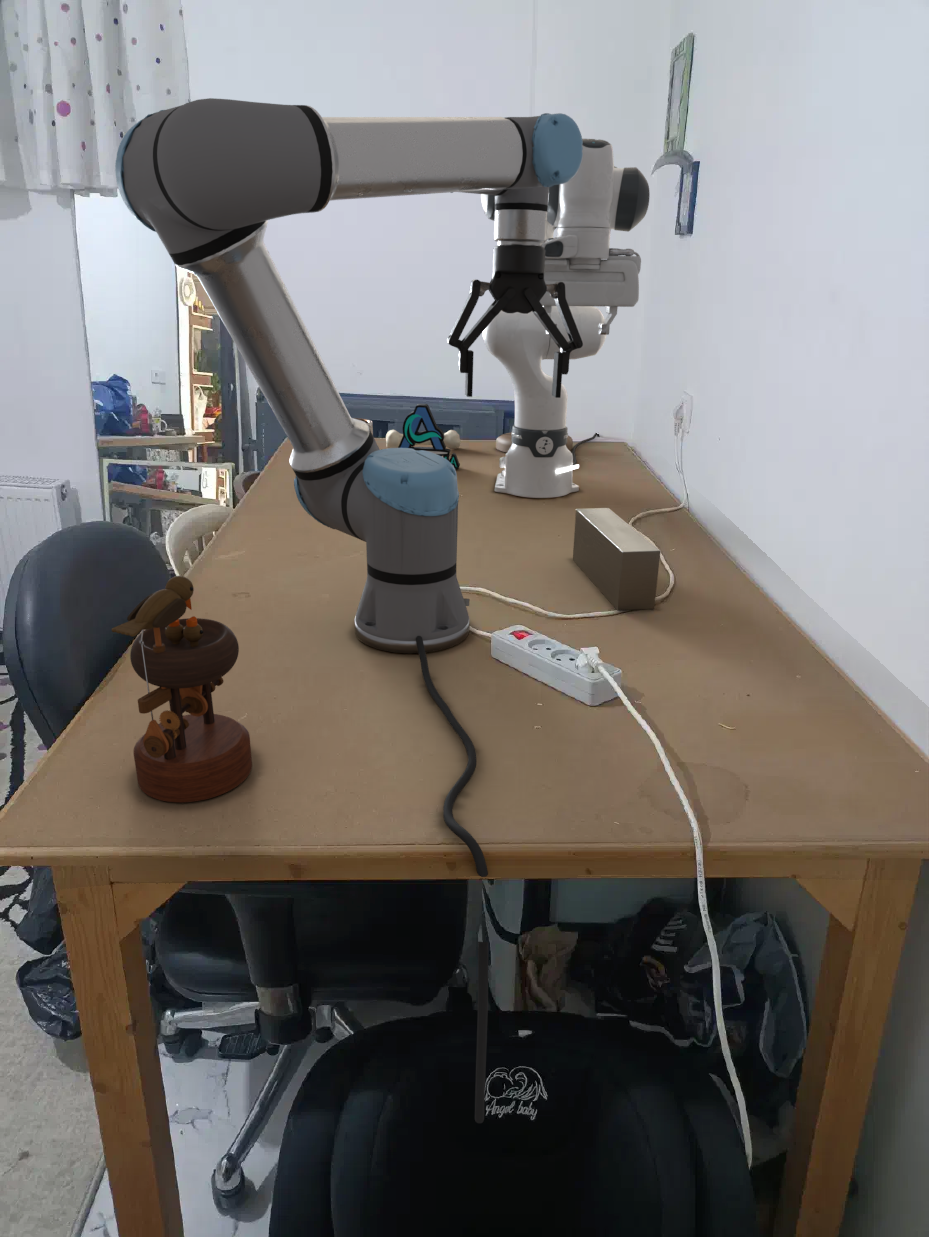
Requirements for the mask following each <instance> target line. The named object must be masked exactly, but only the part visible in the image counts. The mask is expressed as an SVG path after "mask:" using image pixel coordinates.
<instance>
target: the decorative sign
mask: <svg viewBox="0 0 929 1237" xmlns="http://www.w3.org/2000/svg"><path fill="white" fill-rule="evenodd" d="M421 425H423V428H424V430H421V431H419V430H420V428H421ZM444 433H445V432H444V431H443V429H442V428H441V427H440V426H438V425H437V422H436V419H435V417H434V415H433V412H432V411H431V408H430V406H429V404H428V403H417V404H416V406H415V408H414V409H413V411H411V412H410V413H408V414H407V416H406V417H405V418H404V421H403V423H402V434H403V437H402V439H401V442H400V444H399V446H398V448H411V449H414V450H417V451H420V450H424V451H428V452H431V453H435V454H437V455H439V456H441V457H443V458H445V459H447V460H448V461H449V462H450V463H451V464H452V465H453V466H454V468H455V470H458V469H459V468H460V466H461V463H460V462H459V459H458V454H457V453H455V452H453V453H451V449H450V448H448V447H446V445H445V443H444V441H443V440H444V438H445V437H444ZM429 440H430V442H431V444H432V445H431V446H416V445H415V444H416V443H417V444H420V443H424V442H426V441H429ZM450 454H451V456H450Z"/></svg>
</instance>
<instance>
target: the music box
mask: <svg viewBox="0 0 929 1237" xmlns="http://www.w3.org/2000/svg"><path fill="white" fill-rule="evenodd" d="M194 590H195V588H194V583H193V582H192V581H191V579H189V578H188V577H187V576H183V575H175V576H172V577H171V578H170V579H169V580H167V582H166V584H165V588H163V589H159V590H157V591H155V592H152V593H150V594H149V595H147V596H146V597H145V598H143V599H142V600H141V601H140V602H139V603H138V604H137V605H136V606H135V607H134V608H133V609H132V611H130V613H129V614H128V616H127V617H126V620H127V621H125V622H124V623H121V624H119V625H116V626H114V627H112V628H111V632H112V633H116V634H121V635H125V636H130V637H133V638H134V637H136V638H135V640H134V641H133V643H132V644H131V648H130V655H129V656H130V663H131V667H132V668H133V671H134V672H135V673H136V675H137V676H138V677H139V678H140V679H142V680H143V681H144V682H146V687H147V694H145V695H143V696H141V697H139V698H138V699H137V705H138V706H137V707H138V712H139V713H140V714H149V713H150V716H151V720H150V721H149V723H148V725H147V729H146V731H145V733H144V734H143V735H142V736H141V737H140V738H139V739H138V740H137V742H136V743H135V745H134V747H133V751H132V752H133V759H134V760H133V761H134V765H135V772H136V779H137V784H138V787H139V789H140V790H141V791H142V792H143V793H145V794H146V795H147V796H149V797H151V798H152V799H155V800H159V801H164V802H167V803H168V802H169V803H192V802H193V803H194V802H199V801H205V800H208V799H213V798H215V797H218V796H221V795H224V794H226V793H228V792H230V791H232V790H233V789H235V788H237V787H238V786H239V785H241V784H242V783H243V782H244V781H246V779H247V778H248V776H249V775H250V773H251V771H252V768H253V759H252V747H251V736H250V732H249V730H248V728H247V727H246V726H245V725H244V724H242V723H241V722H239V721H237V720H235V719H234V718H232V717H229V716H226V715H223V714H217V713H215V712H214V705H213V704H214V703H213V696H212V693H213V692H214V691H216V686H217V687H220V686H222V685H223V684H224V679H223V677H224V676H225V675H227V674H228V673H229V672H230V671H231V670H232V669H233V667H234V666H235V664H236V662H237V660H238V657H239V653H240V646H239V642H238V639H237V636H236V634H235V633H234V631H233V630H232V629H231V628H230V627H228V626H227V625H226V624H224V623H223V622H221V621H218V620H214V619H209V618H200V617H196V616H194V615H193V616H191V617H189V618H181V617H183V615H185V613H186V611H187V608H188V609H189V610H190V611H192V609H193V608H192V601H191V598H192V596H193V594H194ZM149 684H150V685H152V686H155V687H157V688H155V689H153V690H152V691H150V686H149ZM167 702H169V704H168V705H169V709H168V710H163V711H162V712H161V713H160V715H159V717H158V719H159V723H158V721H157V720H156V719H154V714H153V711H154V710H156V709H157V708H159V707H161V706H163V705H164V704H166V703H167ZM184 713H188V714H185V715H183V714H184Z"/></svg>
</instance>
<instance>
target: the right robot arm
mask: <svg viewBox="0 0 929 1237" xmlns="http://www.w3.org/2000/svg"><path fill="white" fill-rule="evenodd" d="M582 141H583V144H582V147H583V150H582V153H583V156H582V161H581V164H580V167H579V169H578V171H577V173H576V174H575V176H574V177H573V178H572V179H571V180H570V181H568V182H566V183H564V184H558V185H554V186H552V187H549V194H548V210H547V231H546V241H545V242H544V243H542V247H544V250H545V268H544V281H545V283H546V284H553V283H556V282H563V283H564V284H565V294H566V300H567V303H568V306H569V308H570V311H571V313H572V316H573V319H574V321H575V324H576V326H577V329H578V332H579V334H580V337H581V339H582V342H583V346H582V347H581V348H578V349H575V350H573V351H571V353H570V358H569V360H578V359H579V360H580V359H584V358H588V357H592V356H596V355H597V354H598V353H599V352H600V351H601V349H602V348H603V347H604V344H605V342H606V339H607V335H608V336H609V335H610V329H611V328H610V326H611V324H612V323H613V321H614V320H615V318H616V317H617V315H618V309H619V307H621V308H622V307H623V308H625V307H627V308H633V307H635V306H636V305H637V303H638V302H639V298H640V297H639V296H640V282H639V281H640V280H639V274H640V272H641V266H642V258H641V256H640V254H639V253H638V252H637V251H635V250H634V249H633V248H624V249H623V248H614V247H611V246H610V245H611V230H614V231H619V232H630V231H631V230H633V229H635V227H637V226H638V224H640V223H641V222H642V220H643V219H644V218H645V217H646V214H647V212H648V210H649V204H650V198H651V197H650V186H649V182H648V180H647V179H646V176H644V174H643V173H642V172H641V171H640V169H639V168H638V167H636V166H635V167H631V166H630V167H622V168H621V167H617V166H615V159H614V150H613V145H612V144H611V143H610V142H609V141H608V140H604V139H596V138H582ZM480 201H481V206H482V209H483V212H484V215H485V216H486V217H487V219H488V220H490V221H493V222H495V196H491V195H486V194H480ZM555 230H557V232H556V237H554V232H555ZM539 302H540V303H541V304H542V306H543V307H544V309H545V310H546V312H547V314H548V315H549V317H550V318H551V319H552V321H553V322H554V324H555V325H556V326H557V328H558V329H559V331H560V332H561V334H562V335H563V336H564V338H565V339H566V341H567V342H569V341H570V340H569V337H568V334H567V332H566V329H565V327H564V324H563V322H562V319H561V317H560V314H559V311H558V309H557V306H556V304H555V300H554V298H551V297H550V294H549V293H548V292H547V291H546V293H545V295H544V296H543V297H542V299H541V300H540V301H539ZM598 307H605V314H607V316H606V317H605V316H604V315H603V313H602V311H601V310H600V309H599V308H598ZM481 335H482V339H483V343H484V345H485V348H486V349H487V351H488V352H489V353H490V354H491V355H492V356H493V357H494V358H496V359H497V361H498V362H500V363H501V365H502V366H503V367H504V369H505V370H506V372H507V374H508V376H509V378H510V380H511V384H512V388H513V397H514V424H513V425H512V428H511V432H512V433H511V435H512V438H511V441H512V445H511V447H510V449H509V450H508V453H507V452H505V456H502V457H499V459H498V460H499V464H498V466H499V467H498V468H499V469H502V470H501V472H500V473H497V475H496V481H495V484H494V489H493V490H494V492H496V493H502V494H508V495H512V496H518V497H522V498H533V499H549V498H550V499H551V498H559V497H564V496H567V495H569V494H571V493H575V492H579V491H580V485H578V484H576V483H575V482H573V478H574V477H573V473H574V471H573V470H577V469H579V468H580V464H578V460H577V456H576V449H577V448H578V447H579V446H581V445H583V444H585V443H587V442H590V441H592V440H594V439H595V438H596V437H599V438H600V433H599V434H597V433H596V432H595V433H594V434H593V436H591V437H589V438H586V439H583V440H580V441H579V442H577V443H576V444H574V445H573V447H572V451H571V452H570V451H569V450H568V449H567V447H566V444H567V437H568V436H569V433H568V426H567V414H568V412H567V411H568V391H567V389H566V388H567V387H565V385H564V384H563V383H562V382H561V397H560V398H555V397H554V396H552V383H553V376H551V375H548V374H546V373H545V372H544V371H543V369H542V361H543V360H554V352H560V349H559V347H558V346H557V345H556V343H555V342H554V340H553V339H552V338H551V336H550V335H549V333H548V332H547V331H546V329H545V328H544V327H543V325H542V324H541V322H540V321H539V320H538V318H537V317H536V316H535V315H534V313H533V312H532V311H531V312H530V313H528V314H522V313H519V312H516V313H505V312H503V311H502V310H501V311H500V313H499V314H498V315H497V316H496V317H495V318H494V319H493V320H492V321H491V322H490V324H489V325H488V326H487V327H486V328H485V330H484V331H483V332H482V333H481Z"/></svg>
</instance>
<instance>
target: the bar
mask: <svg viewBox="0 0 929 1237" xmlns="http://www.w3.org/2000/svg"><path fill="white" fill-rule="evenodd" d="M573 534H574V535H573V548H572V549H573V550H572V561H573V562H574V563H575V564H576V565H577V566H578V568H579V569H580V570H581V571H582V572H583V573H584V574H585V576H586V577H587V578H588V579H589V580H590V581H591V582H592V583H593V585H594V586H595V587H596V588H597V590H599V591H600V593H601V594H602V595H603V596H604V597H605V599H607V600H608V602H609V603H610V604H611V605H612V607H614V608H615V610H616V611H635V610H655V605H656V597H657V596H656V595H657V588H658V578H659V568H660V560H661V549H659V548H658V547H657V546H656V545H654V544H653V543H652V542H650V541H649V539H647V538H645V536H643V535H642V534H641V533H640V532H639V531H637V530H636V529H634V528H633V527H632V526H631V525H630V524H629V523H628V522H626V521H625V520H624V519H623V518H622V517H620V516H619V515H618V514H617V513H615V512H614V511H613V510H612V509H610V508H609V507H596V508H595V507H593V508H592V507H591V508H589V507H588V508H576V509H575V520H574V533H573Z"/></svg>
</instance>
